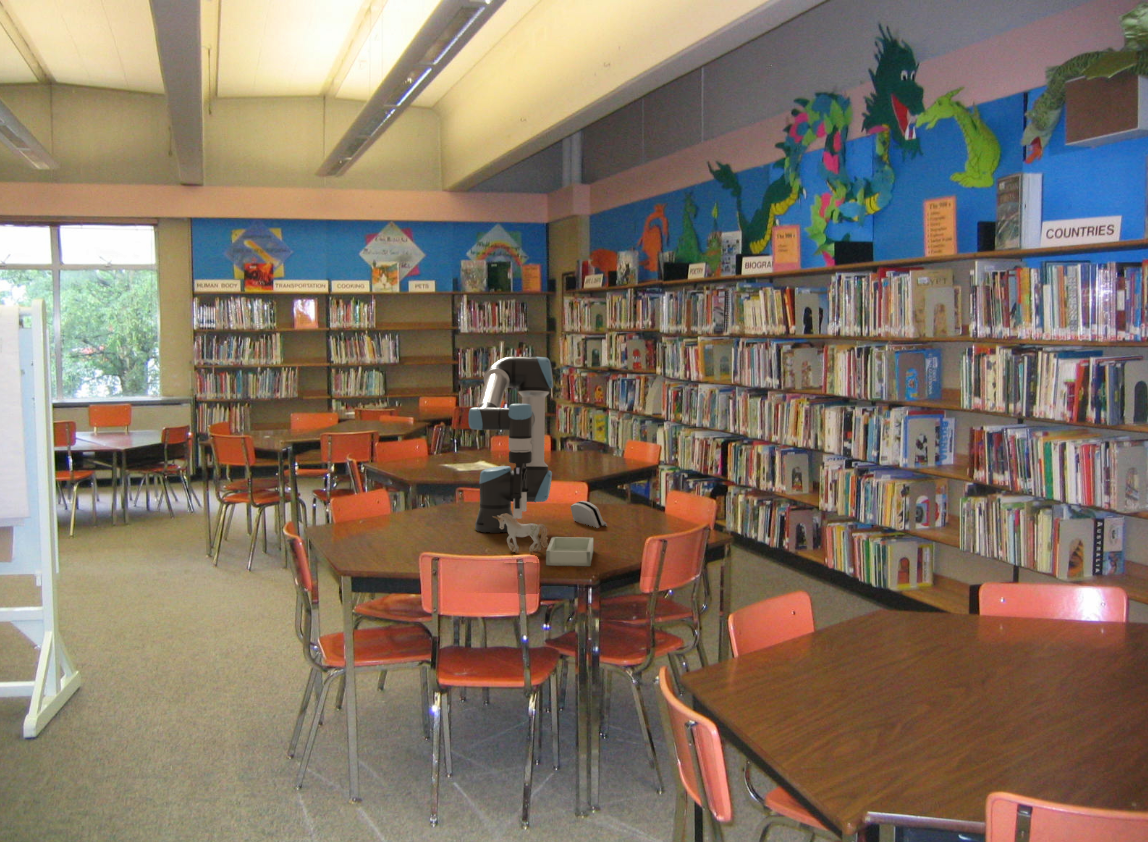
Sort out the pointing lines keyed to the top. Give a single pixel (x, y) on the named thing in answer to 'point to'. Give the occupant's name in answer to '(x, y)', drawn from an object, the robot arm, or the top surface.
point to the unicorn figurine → (523, 532)
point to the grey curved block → (587, 514)
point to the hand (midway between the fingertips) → (520, 514)
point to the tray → (569, 551)
